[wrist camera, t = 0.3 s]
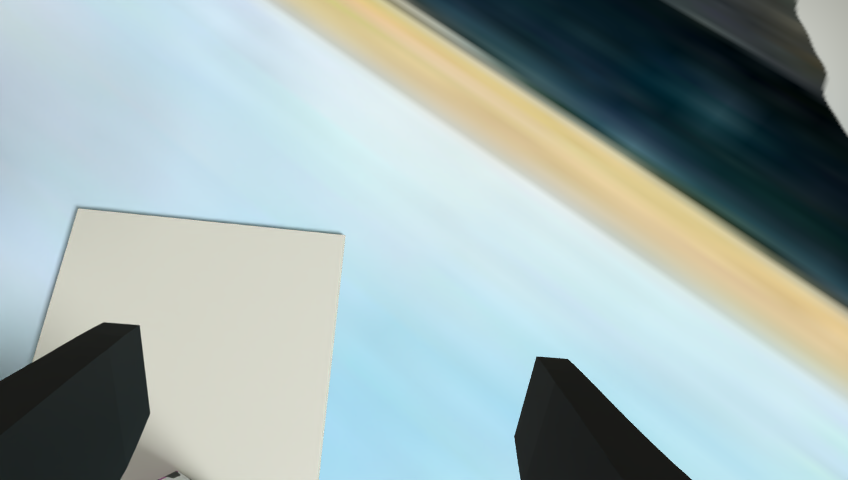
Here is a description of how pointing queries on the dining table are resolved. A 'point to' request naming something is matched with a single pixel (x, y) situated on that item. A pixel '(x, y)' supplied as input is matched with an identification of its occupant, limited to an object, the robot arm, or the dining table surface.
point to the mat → (211, 337)
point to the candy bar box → (175, 476)
